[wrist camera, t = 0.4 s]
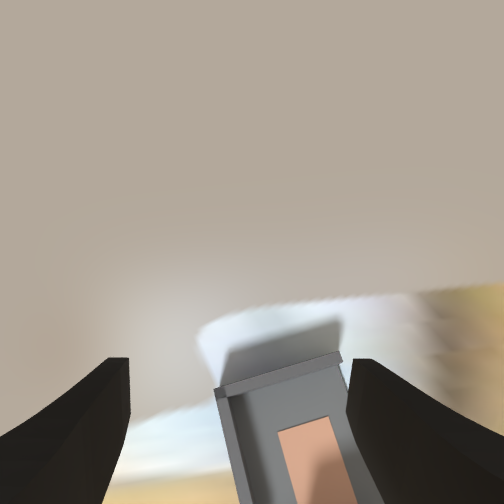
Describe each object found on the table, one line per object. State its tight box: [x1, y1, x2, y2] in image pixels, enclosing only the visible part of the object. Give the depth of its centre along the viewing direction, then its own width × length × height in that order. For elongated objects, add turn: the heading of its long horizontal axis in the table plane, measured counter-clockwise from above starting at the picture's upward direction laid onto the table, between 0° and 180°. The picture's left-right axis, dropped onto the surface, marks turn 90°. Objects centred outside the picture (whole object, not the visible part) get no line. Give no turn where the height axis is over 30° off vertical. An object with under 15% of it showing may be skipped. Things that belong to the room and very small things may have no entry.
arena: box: [214, 351, 385, 504], centre depth 33 cm, size 13×12×3 cm
